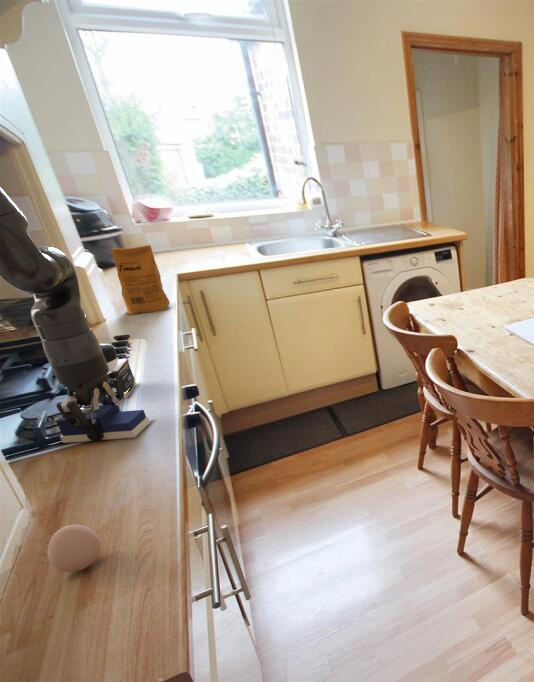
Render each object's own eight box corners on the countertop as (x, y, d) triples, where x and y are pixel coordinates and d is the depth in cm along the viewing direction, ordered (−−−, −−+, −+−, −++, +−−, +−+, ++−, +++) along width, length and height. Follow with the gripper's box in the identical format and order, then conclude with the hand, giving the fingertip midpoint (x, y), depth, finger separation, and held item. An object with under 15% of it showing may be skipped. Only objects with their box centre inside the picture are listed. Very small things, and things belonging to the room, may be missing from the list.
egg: (56, 588, 61) (34, 550, 58) (61, 562, 65) (41, 525, 62) (106, 569, 64) (87, 532, 61) (108, 545, 68) (91, 509, 65)
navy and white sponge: (62, 443, 91) (52, 421, 89) (82, 427, 96) (72, 406, 94) (134, 437, 93) (126, 416, 91) (150, 422, 97) (142, 401, 95)
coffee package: (130, 307, 165) (109, 245, 156) (172, 302, 170) (153, 242, 162) (124, 316, 157) (101, 251, 148) (168, 310, 162) (149, 247, 154)
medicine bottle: (127, 398, 107) (108, 350, 102) (88, 404, 104) (68, 355, 100) (137, 384, 113) (120, 338, 108) (100, 389, 110) (82, 343, 106)
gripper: (69, 371, 81) (104, 450, 88) (121, 339, 94) (148, 410, 101) (21, 373, 80) (60, 454, 87) (81, 341, 93) (110, 413, 100)
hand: (107, 430), depth 94 cm, fingers closed on navy and white sponge, 5 cm apart
